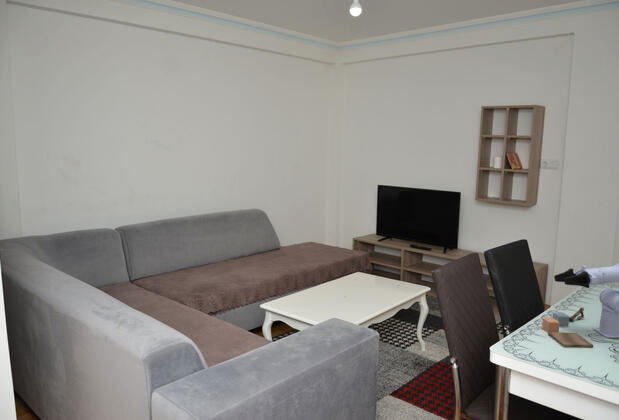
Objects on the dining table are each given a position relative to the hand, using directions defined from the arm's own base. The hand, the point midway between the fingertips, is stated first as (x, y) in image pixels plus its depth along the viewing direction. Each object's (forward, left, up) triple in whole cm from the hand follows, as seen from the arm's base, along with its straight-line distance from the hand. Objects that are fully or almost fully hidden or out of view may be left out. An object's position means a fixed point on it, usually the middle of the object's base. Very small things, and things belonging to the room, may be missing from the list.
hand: (559, 279), depth 167 cm
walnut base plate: (-1, +9, -19) cm, 21 cm away
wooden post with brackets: (-15, -11, -20) cm, 27 cm away
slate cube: (-6, -6, -19) cm, 21 cm away
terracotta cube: (+1, 0, -19) cm, 19 cm away
